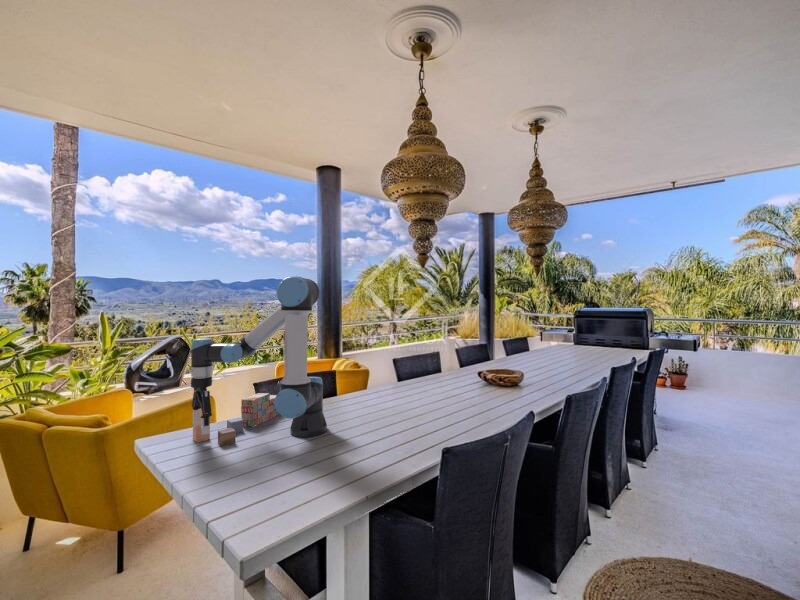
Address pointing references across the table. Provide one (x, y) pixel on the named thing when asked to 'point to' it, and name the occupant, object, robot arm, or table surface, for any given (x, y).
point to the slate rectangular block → (235, 424)
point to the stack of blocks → (258, 409)
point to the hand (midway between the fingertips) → (201, 429)
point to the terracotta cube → (199, 434)
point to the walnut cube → (226, 437)
